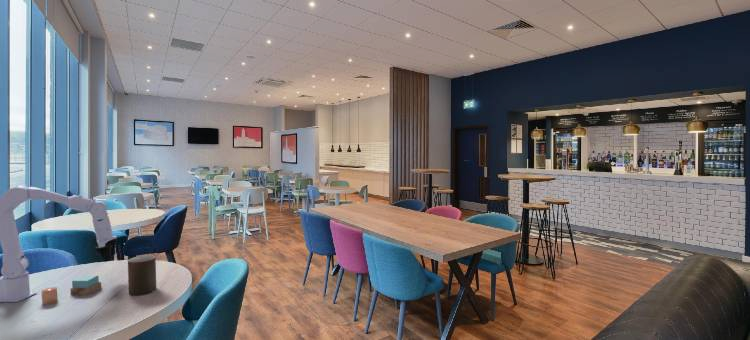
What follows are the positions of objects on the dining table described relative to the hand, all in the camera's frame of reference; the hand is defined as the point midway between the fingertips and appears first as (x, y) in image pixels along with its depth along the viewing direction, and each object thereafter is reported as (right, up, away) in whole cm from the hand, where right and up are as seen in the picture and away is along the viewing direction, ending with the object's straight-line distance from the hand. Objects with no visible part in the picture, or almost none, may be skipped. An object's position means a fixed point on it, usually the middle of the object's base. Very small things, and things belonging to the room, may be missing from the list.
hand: (110, 258), depth 157 cm
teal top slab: (-3, -9, -10) cm, 13 cm away
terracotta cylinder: (-8, -12, -20) cm, 25 cm away
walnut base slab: (-3, -12, -10) cm, 15 cm away
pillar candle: (+20, -12, -9) cm, 25 cm away
